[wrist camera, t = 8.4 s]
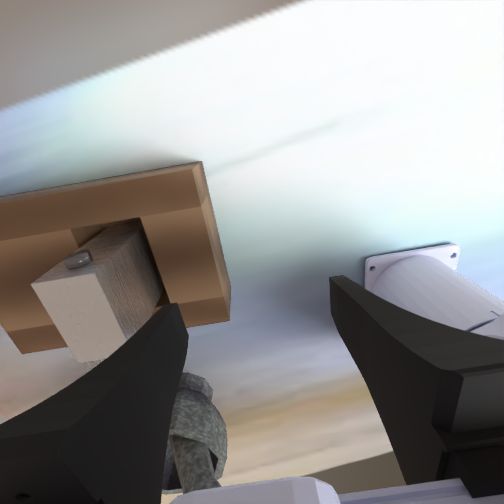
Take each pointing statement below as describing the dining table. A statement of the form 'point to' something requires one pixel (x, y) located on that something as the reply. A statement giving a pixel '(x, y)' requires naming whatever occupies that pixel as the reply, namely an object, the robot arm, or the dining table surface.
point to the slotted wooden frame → (97, 220)
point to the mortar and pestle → (194, 439)
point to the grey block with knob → (102, 291)
